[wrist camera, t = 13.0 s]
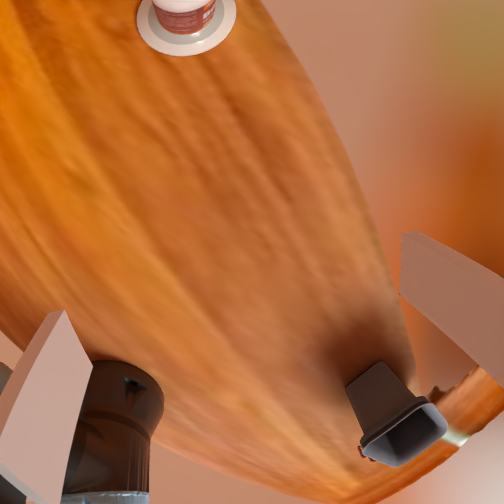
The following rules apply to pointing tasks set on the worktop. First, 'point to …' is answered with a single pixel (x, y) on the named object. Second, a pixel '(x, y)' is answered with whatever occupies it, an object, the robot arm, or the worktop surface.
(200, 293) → the worktop surface
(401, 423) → the storage bin
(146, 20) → the coaster
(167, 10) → the pill bottle
